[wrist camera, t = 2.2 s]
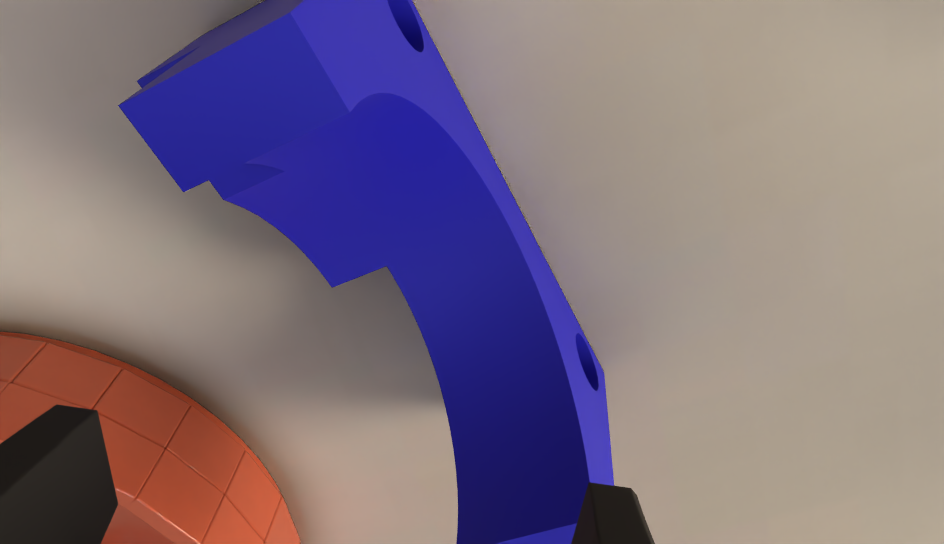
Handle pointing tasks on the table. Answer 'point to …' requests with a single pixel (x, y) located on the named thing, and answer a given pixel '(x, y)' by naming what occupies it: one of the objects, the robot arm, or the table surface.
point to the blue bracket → (399, 231)
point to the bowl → (148, 447)
